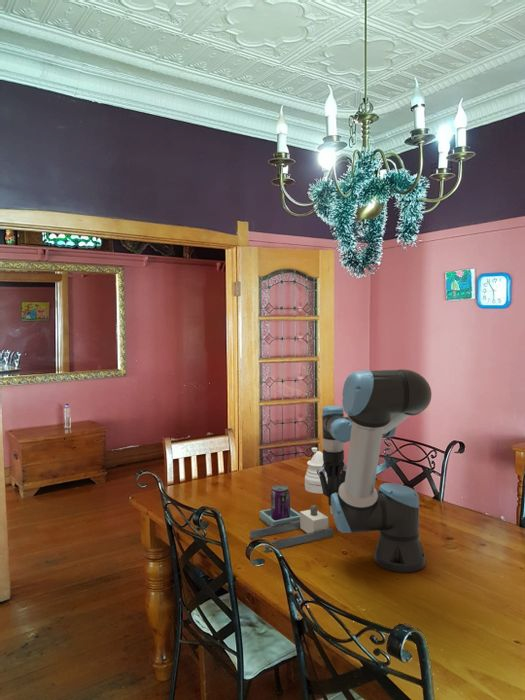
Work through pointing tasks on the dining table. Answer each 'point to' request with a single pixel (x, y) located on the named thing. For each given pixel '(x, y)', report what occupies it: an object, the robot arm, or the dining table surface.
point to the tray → (266, 518)
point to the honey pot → (314, 473)
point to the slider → (313, 520)
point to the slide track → (291, 540)
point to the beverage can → (280, 502)
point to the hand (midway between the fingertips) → (334, 514)
